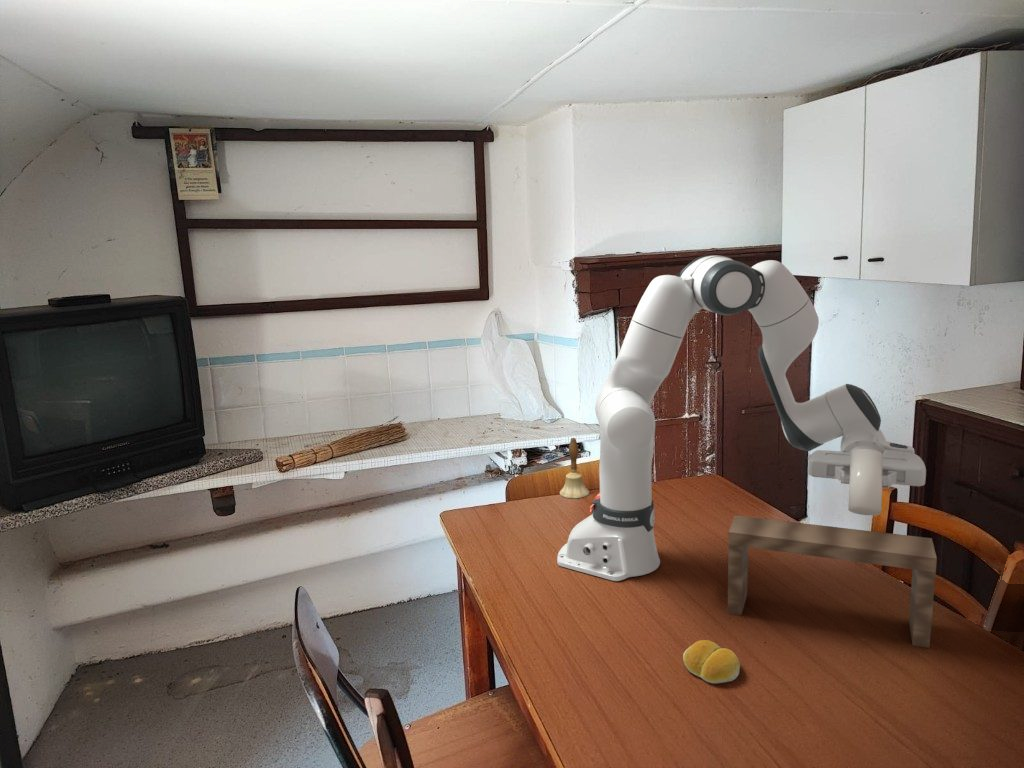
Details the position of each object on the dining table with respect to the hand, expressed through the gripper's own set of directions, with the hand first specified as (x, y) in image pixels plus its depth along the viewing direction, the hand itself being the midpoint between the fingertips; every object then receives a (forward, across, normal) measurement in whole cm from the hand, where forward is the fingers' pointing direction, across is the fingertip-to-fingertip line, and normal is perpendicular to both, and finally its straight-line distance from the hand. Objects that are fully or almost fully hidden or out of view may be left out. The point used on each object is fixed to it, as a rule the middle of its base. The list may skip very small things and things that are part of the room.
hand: (865, 481), depth 130 cm
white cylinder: (+4, 0, +4) cm, 6 cm away
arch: (+9, -6, +24) cm, 26 cm away
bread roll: (+31, -22, +24) cm, 45 cm away
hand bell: (-36, -71, +24) cm, 83 cm away
